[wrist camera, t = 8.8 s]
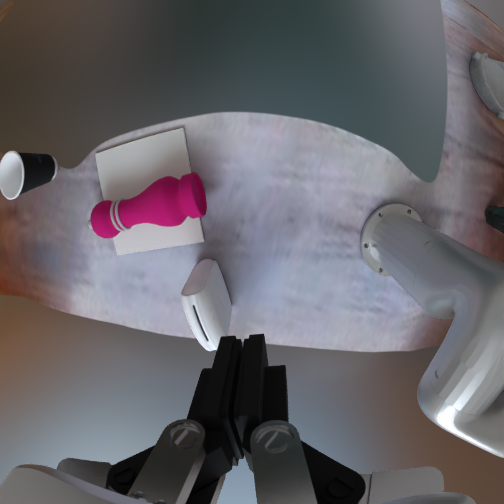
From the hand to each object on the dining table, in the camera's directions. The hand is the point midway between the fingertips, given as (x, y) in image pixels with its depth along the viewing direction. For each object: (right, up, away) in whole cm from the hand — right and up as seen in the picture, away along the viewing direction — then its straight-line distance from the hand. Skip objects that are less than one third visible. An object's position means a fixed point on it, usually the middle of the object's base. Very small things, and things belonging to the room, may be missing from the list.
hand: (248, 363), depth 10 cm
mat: (-17, +13, +30) cm, 37 cm away
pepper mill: (-7, +12, +26) cm, 30 cm away
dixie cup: (-38, +20, +29) cm, 52 cm away
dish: (+49, +39, +21) cm, 66 cm away
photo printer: (-6, -1, +36) cm, 36 cm away
